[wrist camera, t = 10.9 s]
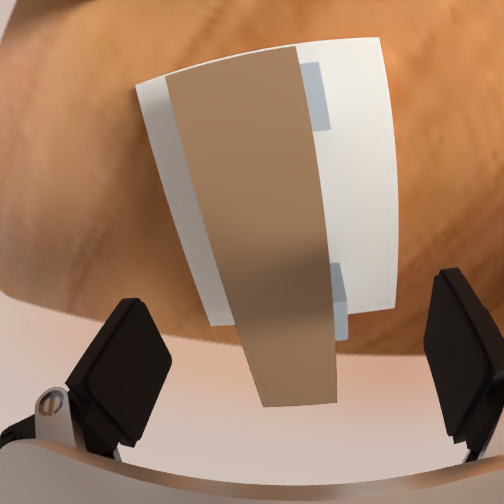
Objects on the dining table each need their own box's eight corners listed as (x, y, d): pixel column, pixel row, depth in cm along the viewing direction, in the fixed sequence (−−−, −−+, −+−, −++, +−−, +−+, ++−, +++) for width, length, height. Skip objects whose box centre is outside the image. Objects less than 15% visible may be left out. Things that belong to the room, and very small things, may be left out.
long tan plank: (294, 58, 11) (295, 45, 7) (333, 349, 18) (336, 402, 15) (200, 78, 12) (164, 76, 8) (269, 354, 19) (263, 407, 16)
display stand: (372, 40, 14) (402, 25, 9) (390, 295, 22) (407, 346, 18) (145, 84, 17) (98, 88, 12) (214, 313, 25) (198, 364, 21)
